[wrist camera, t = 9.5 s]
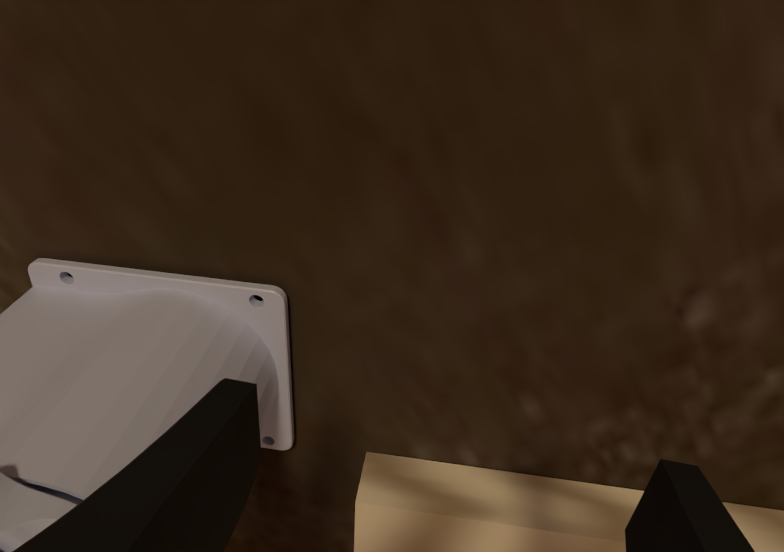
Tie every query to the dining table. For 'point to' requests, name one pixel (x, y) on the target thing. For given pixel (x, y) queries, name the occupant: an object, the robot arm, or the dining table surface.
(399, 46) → the dining table surface
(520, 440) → the dining table surface
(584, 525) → the notched board
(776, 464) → the dining table surface
